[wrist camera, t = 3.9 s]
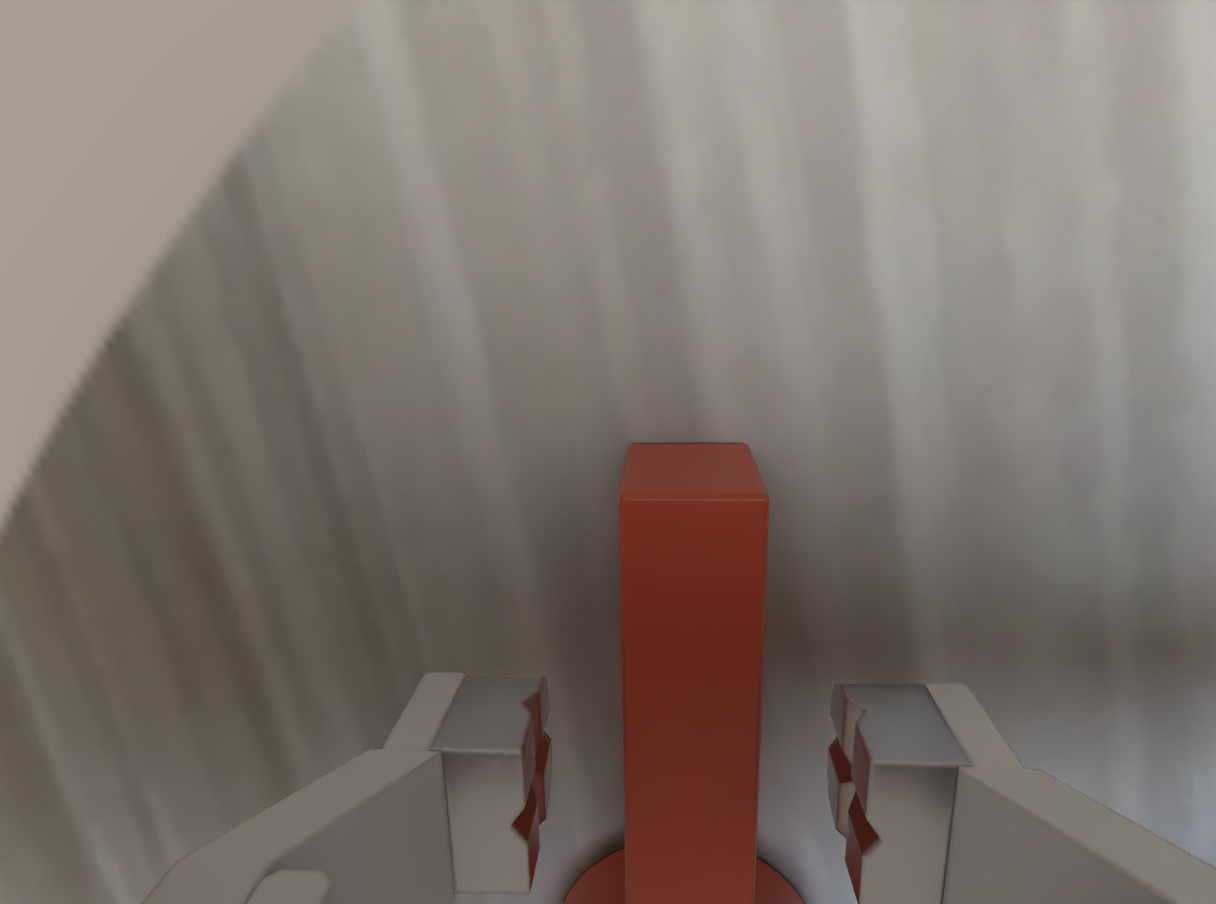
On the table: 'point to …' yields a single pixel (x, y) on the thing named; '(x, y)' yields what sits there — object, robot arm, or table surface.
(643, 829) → the red spoon
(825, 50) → the table surface
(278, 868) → the robot arm
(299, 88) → the table surface
